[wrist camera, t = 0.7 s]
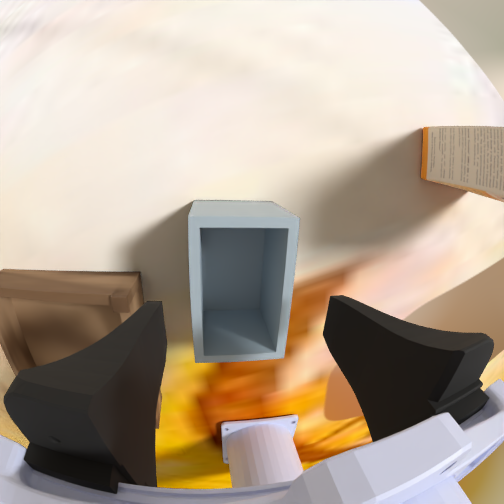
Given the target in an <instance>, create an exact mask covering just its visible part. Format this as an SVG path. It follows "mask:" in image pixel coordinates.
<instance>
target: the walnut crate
mask: <svg viewBox="0 0 504 504" xmlns="http://www.w3.org/2000/svg"><path fill="white" fill-rule="evenodd" d="M142 305H144V300H143V292H142V284H141V275H140V272H91V271H46V270H15V269H2V270H1V271H0V344H1V346H2V348H3V351H4V353H5V355H6V357H7V359H8V361H9V364H10V366H11V368H12V370H13V372H14V374H15V375H16V376H17V374H18V373H19V371H20V370H24V369H29V368H33V367H37V366H41V365H45V364H48V363H52V362H54V361H57V360H60V359H63V358H65V357H68V356H70V355H72V354H74V353H76V352H78V351H81V350H83V349H85V348H87V347H89V346H90V345H92V344H94V343H95V342H97V341H99V340H100V339H102V338H103V337H105V336H106V335H108V334H109V333H110V332H112V331H113V330H114V329H115V328H117V327H118V326H119V325H121V324H122V323H123V322H124V321H125V320H127V319H128V318H129V317H130V316H131V315H132V314H133V313H135V312H136V311H137V310H138V309H139V308H140V307H141V306H142ZM161 402H162V395H161V391H160V392H159V397H158V402H157V410H156V428H157V429H159V421H160V411H161Z"/></svg>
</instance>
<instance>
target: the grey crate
mask: <svg viewBox="0 0 504 504" xmlns="http://www.w3.org/2000/svg"><path fill="white" fill-rule="evenodd" d="M299 224H300V218H299V217H298V216H296V215H294V214H293V213H291V212H289V211H288V210H286V209H284V208H283V207H281V206H279V205H277V204H276V203H274V202H270V201H231V200H194V202H193V204H192V207H191V210H190V213H189V215H188V247H189V278H190V299H191V316H192V330H193V343H194V355H195V363H211V362H238V361H254V360H267V359H279V358H284V353H285V346H286V339H287V332H288V324H289V317H290V309H291V301H292V292H293V284H294V275H295V265H296V256H297V246H298V235H299Z"/></svg>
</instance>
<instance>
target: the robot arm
mask: <svg viewBox="0 0 504 504" xmlns="http://www.w3.org/2000/svg"><path fill="white" fill-rule="evenodd" d="M323 336H324V339H325V341H326V344H327V346H328V348H329V351H330V353H331V354H332V356H333V358H334V359H335V361H336V363H337V364H338V366H339V368H340V369H341V371H342V372H343V374H344V376H345V377H346V379H347V380H348V382H349V384H350V385H351V387H352V389H353V391H354V393H355V395H356V397H357V399H358V402H359V404H360V407H361V409H362V412H363V414H364V417H365V419H366V422H367V425H368V428H369V431H370V434H371V437H372V441H373V442H372V443H370V444H367V445H364V446H361V447H358V448H355V449H351V450H348V451H346V452H344V453H341V454H338V455H336V456H333V457H330V458H328V459H325V460H323V461H322V462H320V463H318V464H316V465H314V466H312V467H311V468H309V469H307V470H305V471H303V468H302V465H301V462H300V459H299V456H298V454H297V451H296V448H295V445H294V442H293V436H294V432H295V429H296V426H297V422H298V416H297V415H289V416H282V417H274V418H266V419H256V420H245V421H231V422H223V423H222V424H221V433H222V448H223V462H224V463H226V464H229V468H230V475H231V481H232V488H226V489H172V488H158V487H157V479H156V459H155V428H156V410H157V402H158V397H159V392H160V386H161V381H162V377H163V372H164V367H165V362H166V348H167V339H166V331H165V324H164V316H163V307H162V301H147V302H146V303H145V304H144V305H142V306H141V307H140V308H139V309H138V310H137V311H136V312H135V313H133V314H132V315H131V316H130V317H129V318H128V319H127V320H125V321H124V322H123V323H122V324H121V325H119V326H118V327H117V328H115V329H114V330H113V331H112V332H110V333H109V334H108V335H106V336H105V337H103V338H102V339H100V340H99V341H97V342H95V343H94V344H92V345H90V346H89V347H87V348H85V349H83V350H81V351H78V352H76V353H74V354H72V355H70V356H68V357H65V358H63V359H60V360H57V361H54V362H52V363H48V364H45V365H41V366H37V367H33V368H29V369H24V370H20V371H19V373H18V374H17V376H16V377H15V379H14V381H13V382H12V384H11V385H10V387H9V389H8V390H7V392H6V394H5V396H4V404H5V407H6V410H7V412H8V414H9V415H10V417H11V419H12V420H13V421H14V423H15V424H16V425H17V427H18V428H19V429H20V430H21V432H22V433H23V434H24V436H25V437H26V438H27V439H28V440H29V442H30V443H29V446H28V448H27V449H26V448H25V447H24V446H22V445H21V444H19V443H17V442H15V441H13V440H11V439H8V438H6V437H4V436H2V435H0V504H471V502H470V500H469V499H468V497H467V496H466V494H465V493H464V491H463V490H462V488H461V487H460V486H459V484H458V483H457V482H458V481H459V480H461V479H462V478H463V477H464V476H466V475H467V474H468V473H470V472H471V471H472V470H473V469H474V468H475V467H477V466H478V465H479V464H480V463H481V462H482V461H483V460H485V458H487V457H488V456H489V455H490V454H491V453H492V452H493V451H494V450H495V449H496V448H497V447H498V446H499V445H500V444H501V443H502V442H503V441H504V382H503V381H502V380H501V379H498V380H497V381H496V382H494V383H493V384H492V385H490V386H489V387H488V388H487V389H486V390H485V391H484V392H483V391H482V390H481V389H480V388H481V387H482V385H483V383H482V382H481V381H480V380H479V378H480V376H481V374H482V372H483V371H484V369H485V367H486V365H487V363H488V361H489V359H490V357H491V355H492V352H493V348H494V342H493V340H492V339H491V338H490V337H489V336H487V335H486V334H483V333H459V332H450V331H449V332H448V331H442V330H436V329H432V328H427V327H423V326H419V325H416V324H412V323H409V322H406V321H403V320H400V319H398V318H395V317H393V316H390V315H388V314H385V313H383V312H381V311H378V310H376V309H374V308H372V307H370V306H367V305H365V304H363V303H361V302H359V301H356V300H354V299H352V298H349V297H346V296H343V295H339V296H330V300H329V306H328V311H327V316H326V321H325V326H324V331H323Z"/></svg>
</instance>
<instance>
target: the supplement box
mask: <svg viewBox="0 0 504 504" xmlns="http://www.w3.org/2000/svg"><path fill="white" fill-rule="evenodd" d="M422 143H423V146H422V168H421V178H422V179H424V180H427V181H432V182H436V183H440V184H444V185H448V186H452V187H455V188H459V189H462V190H465V191H469V192H472V193H475V194H479V195H482V196H485V197H489V198H492V199H495V200H499V201H502V202H504V127H491V126H437V127H424V128H423V142H422Z"/></svg>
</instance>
